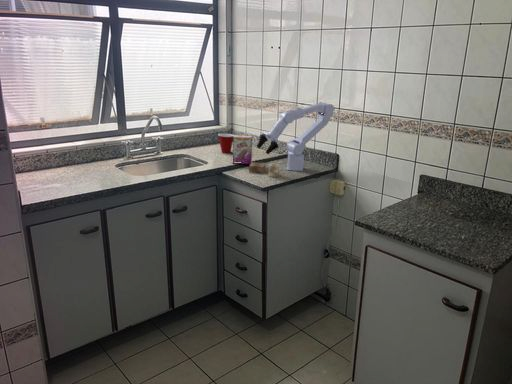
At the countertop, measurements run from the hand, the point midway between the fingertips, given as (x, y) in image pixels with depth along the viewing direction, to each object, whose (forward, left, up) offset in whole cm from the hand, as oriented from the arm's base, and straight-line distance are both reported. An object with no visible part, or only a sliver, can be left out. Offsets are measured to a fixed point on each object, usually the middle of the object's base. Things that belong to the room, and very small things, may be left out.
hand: (262, 150), depth 228 cm
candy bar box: (+14, -16, -13) cm, 25 cm away
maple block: (-7, +4, -13) cm, 15 cm away
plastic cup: (+29, -39, -13) cm, 50 cm away
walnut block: (+3, -3, -13) cm, 14 cm away
